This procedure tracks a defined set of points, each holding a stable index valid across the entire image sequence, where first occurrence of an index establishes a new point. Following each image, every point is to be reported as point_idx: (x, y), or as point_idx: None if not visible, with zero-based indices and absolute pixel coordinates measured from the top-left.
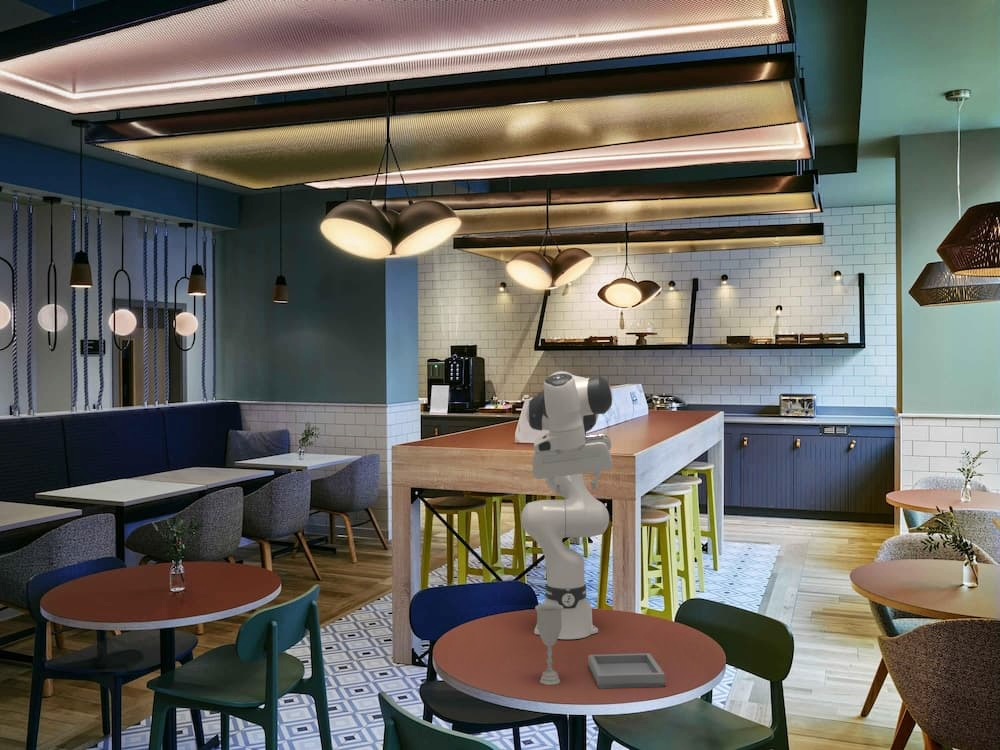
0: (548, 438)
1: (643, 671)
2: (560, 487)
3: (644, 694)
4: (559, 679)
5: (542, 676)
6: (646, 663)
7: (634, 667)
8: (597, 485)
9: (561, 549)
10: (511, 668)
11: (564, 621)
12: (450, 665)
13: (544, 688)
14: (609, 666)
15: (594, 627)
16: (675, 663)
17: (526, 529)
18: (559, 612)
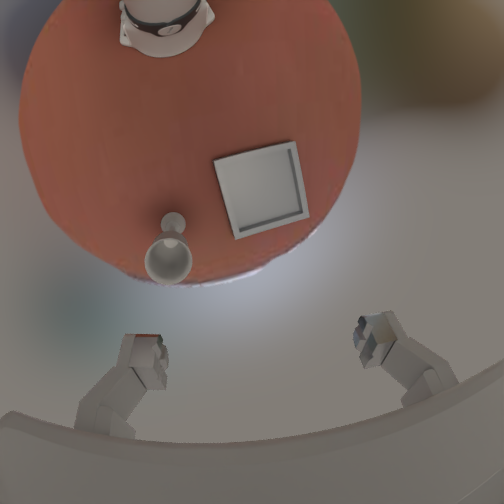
0: None
1: (283, 181)
2: (157, 357)
3: (282, 239)
4: (183, 218)
5: (164, 231)
6: (287, 150)
7: (273, 168)
8: (391, 319)
9: None
10: (116, 191)
11: (164, 44)
12: (49, 203)
13: None
14: (241, 170)
15: (208, 9)
16: (318, 131)
17: None
18: (187, 266)
